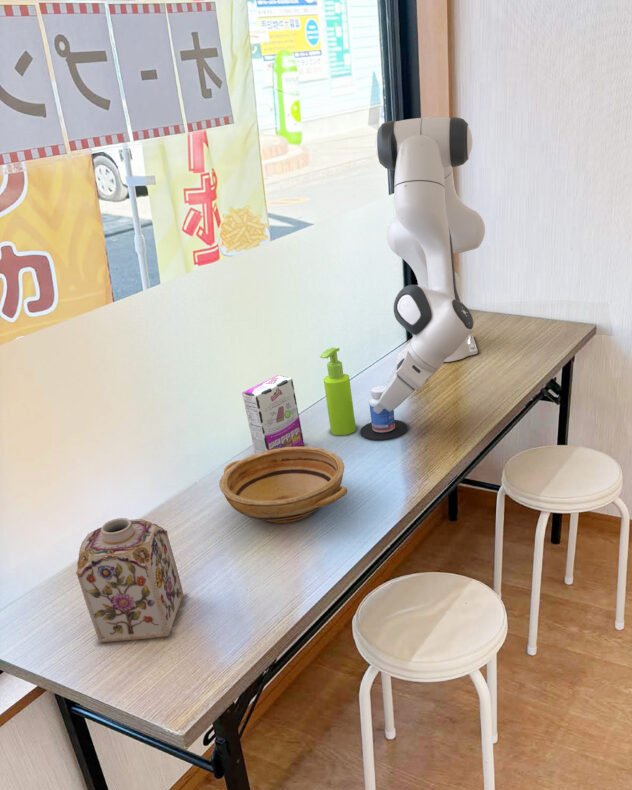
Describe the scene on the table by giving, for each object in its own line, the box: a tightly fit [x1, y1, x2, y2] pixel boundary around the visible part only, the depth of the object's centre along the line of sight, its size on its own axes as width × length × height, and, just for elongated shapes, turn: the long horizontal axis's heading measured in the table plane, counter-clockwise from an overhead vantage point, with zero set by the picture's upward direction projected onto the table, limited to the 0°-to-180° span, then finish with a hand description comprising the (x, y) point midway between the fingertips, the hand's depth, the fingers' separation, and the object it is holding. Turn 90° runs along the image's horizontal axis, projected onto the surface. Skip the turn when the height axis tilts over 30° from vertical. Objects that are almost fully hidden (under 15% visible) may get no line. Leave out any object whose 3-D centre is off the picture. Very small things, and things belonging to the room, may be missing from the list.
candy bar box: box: [241, 375, 305, 454], centre depth 189 cm, size 11×5×16 cm, turn 143°
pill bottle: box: [368, 385, 396, 433], centre depth 196 cm, size 6×5×10 cm
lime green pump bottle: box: [319, 346, 357, 437], centre depth 195 cm, size 6×7×20 cm
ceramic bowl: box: [219, 446, 348, 524], centre depth 167 cm, size 30×24×8 cm
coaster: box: [359, 419, 408, 442], centre depth 198 cm, size 11×11×1 cm
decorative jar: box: [75, 517, 184, 644], centre depth 136 cm, size 12×12×18 cm
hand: (378, 405), depth 195 cm, fingers closed on pill bottle, 5 cm apart
